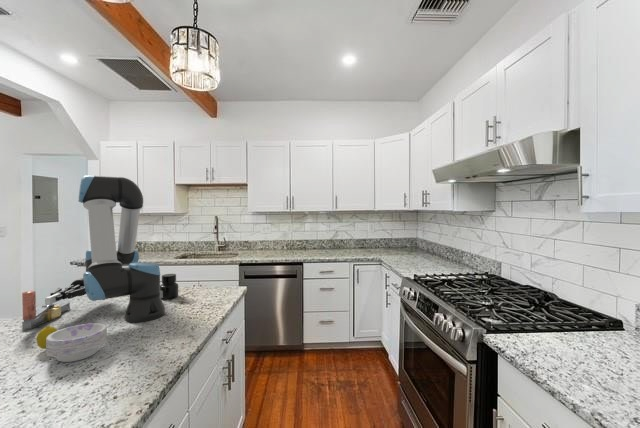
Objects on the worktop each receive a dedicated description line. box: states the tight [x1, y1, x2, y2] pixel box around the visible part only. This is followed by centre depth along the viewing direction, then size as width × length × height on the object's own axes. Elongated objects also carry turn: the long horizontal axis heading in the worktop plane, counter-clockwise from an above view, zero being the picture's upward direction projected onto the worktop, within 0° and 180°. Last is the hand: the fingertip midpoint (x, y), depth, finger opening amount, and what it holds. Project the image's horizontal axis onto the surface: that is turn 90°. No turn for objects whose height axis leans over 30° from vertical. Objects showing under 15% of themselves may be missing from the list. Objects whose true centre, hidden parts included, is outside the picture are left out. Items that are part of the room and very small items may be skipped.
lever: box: [21, 290, 55, 323], centre depth 122 cm, size 20×4×11 cm, turn 23°
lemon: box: [36, 325, 59, 350], centre depth 101 cm, size 6×6×8 cm
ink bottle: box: [160, 273, 179, 301], centre depth 159 cm, size 10×9×12 cm
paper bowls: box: [45, 322, 108, 363], centre depth 97 cm, size 15×15×8 cm
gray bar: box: [21, 302, 71, 331], centre depth 130 cm, size 6×24×4 cm, turn 11°
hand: (47, 301), depth 116 cm, fingers closed
